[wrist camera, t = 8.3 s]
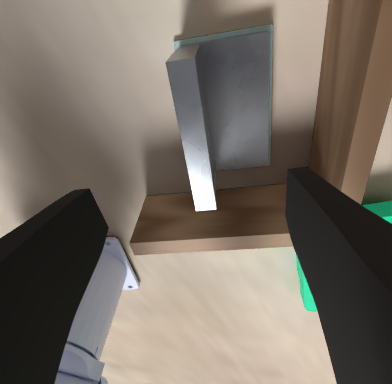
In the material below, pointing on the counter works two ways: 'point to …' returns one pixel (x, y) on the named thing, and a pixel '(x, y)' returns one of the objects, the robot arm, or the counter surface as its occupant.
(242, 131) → the bracket
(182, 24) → the counter surface
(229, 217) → the corner walls
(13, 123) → the counter surface
